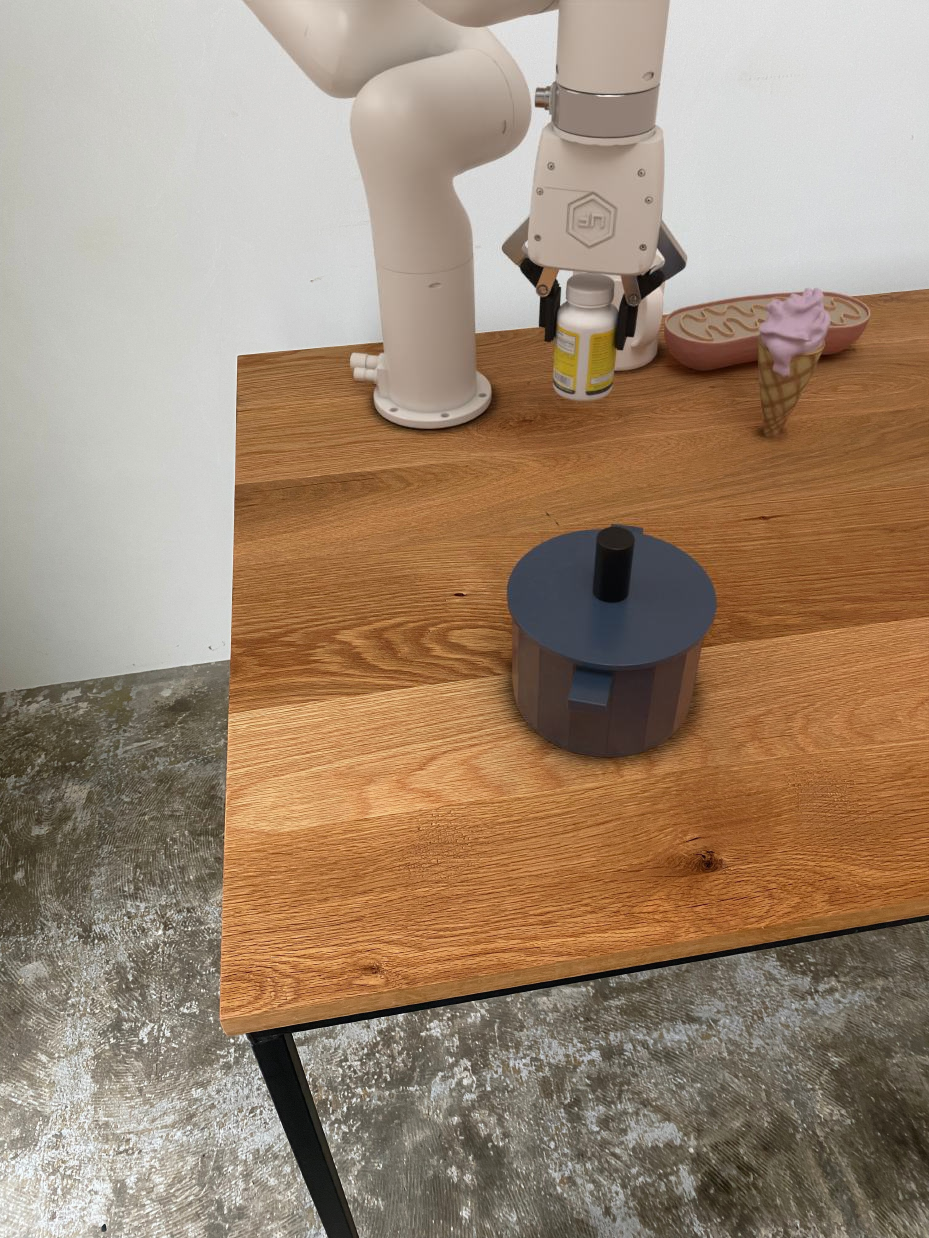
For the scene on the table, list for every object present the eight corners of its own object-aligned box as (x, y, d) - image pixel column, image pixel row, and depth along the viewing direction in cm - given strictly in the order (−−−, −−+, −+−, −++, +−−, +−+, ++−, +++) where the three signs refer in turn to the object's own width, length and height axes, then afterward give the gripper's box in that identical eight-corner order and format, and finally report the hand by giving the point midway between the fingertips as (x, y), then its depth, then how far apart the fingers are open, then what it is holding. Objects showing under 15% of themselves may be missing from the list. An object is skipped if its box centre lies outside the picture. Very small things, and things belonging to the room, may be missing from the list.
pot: (486, 769, 63) (484, 676, 57) (540, 596, 76) (542, 506, 70) (677, 805, 61) (696, 712, 55) (699, 620, 74) (716, 529, 68)
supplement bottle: (615, 376, 86) (627, 271, 79) (608, 406, 82) (620, 299, 75) (556, 370, 87) (563, 266, 80) (547, 400, 83) (553, 293, 76)
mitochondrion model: (677, 390, 100) (683, 347, 97) (645, 349, 107) (650, 307, 104) (874, 364, 103) (887, 321, 100) (831, 325, 110) (841, 284, 107)
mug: (553, 342, 109) (556, 255, 102) (626, 324, 112) (634, 238, 105) (609, 390, 101) (617, 297, 94) (687, 368, 104) (700, 277, 97)
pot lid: (485, 657, 59) (483, 591, 56) (530, 529, 69) (531, 465, 65) (706, 694, 57) (720, 626, 53) (720, 555, 66) (733, 489, 62)
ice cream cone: (804, 456, 90) (841, 307, 80) (738, 451, 91) (766, 303, 81) (800, 421, 95) (835, 275, 85) (737, 416, 96) (764, 272, 86)
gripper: (479, 116, 68) (479, 348, 80) (721, 132, 64) (682, 371, 77) (502, 88, 73) (499, 310, 85) (727, 102, 69) (690, 330, 82)
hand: (586, 337), depth 81 cm, fingers closed on supplement bottle, 5 cm apart
